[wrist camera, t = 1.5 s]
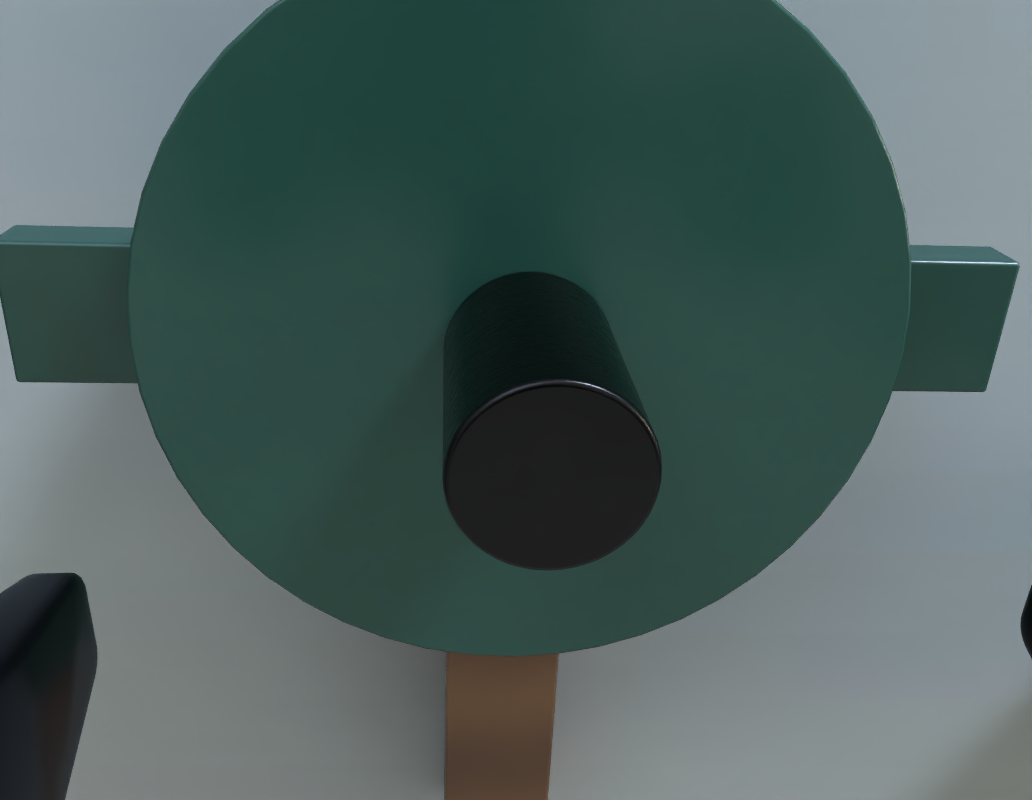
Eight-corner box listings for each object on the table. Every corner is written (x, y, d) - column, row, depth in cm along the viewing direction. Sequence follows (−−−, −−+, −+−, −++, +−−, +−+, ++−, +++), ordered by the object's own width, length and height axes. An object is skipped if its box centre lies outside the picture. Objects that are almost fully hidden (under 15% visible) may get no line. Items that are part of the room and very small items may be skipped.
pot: (828, 456, 24) (948, 619, 18) (145, 453, 23) (44, 626, 17) (928, -35, 19) (1131, -24, 14) (71, -74, 18) (-102, -79, 12)
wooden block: (532, 791, 28) (542, 880, 26) (443, 793, 28) (443, 883, 26) (548, 564, 25) (560, 640, 22) (447, 564, 25) (447, 641, 22)
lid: (815, 616, 19) (933, 833, 14) (187, 622, 18) (99, 854, 13) (960, -62, 14) (1215, -63, 9) (94, -104, 13) (-101, -126, 8)
